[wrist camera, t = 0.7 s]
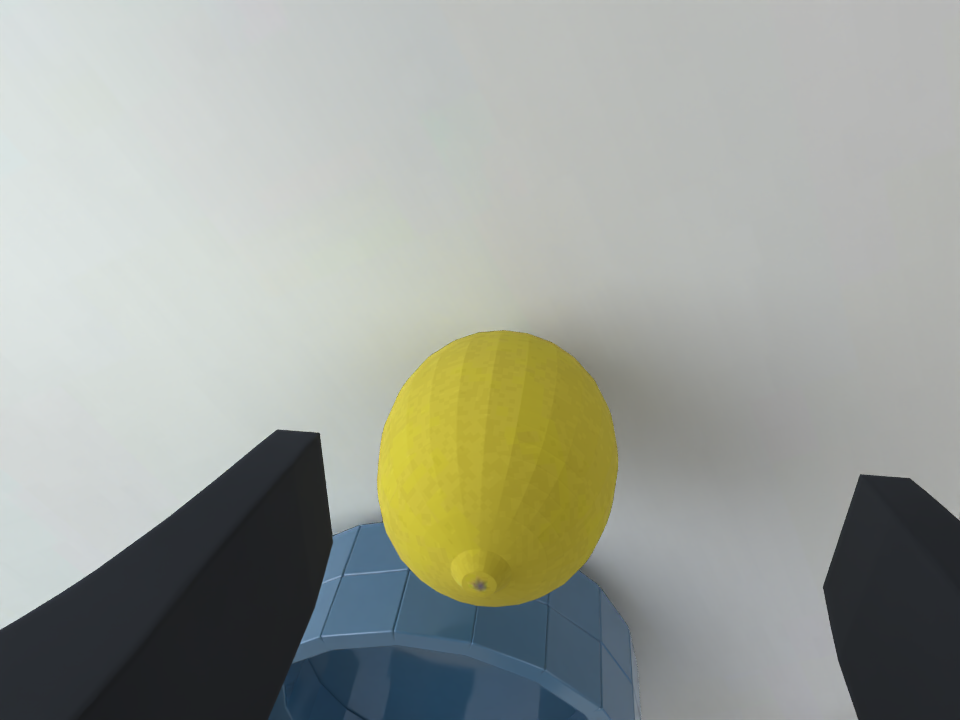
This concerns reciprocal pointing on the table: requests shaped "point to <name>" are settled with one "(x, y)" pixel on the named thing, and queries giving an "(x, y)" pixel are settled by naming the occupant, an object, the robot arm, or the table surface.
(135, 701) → the robot arm
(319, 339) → the table surface
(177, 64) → the table surface
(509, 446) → the lemon
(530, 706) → the bowl
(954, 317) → the table surface
